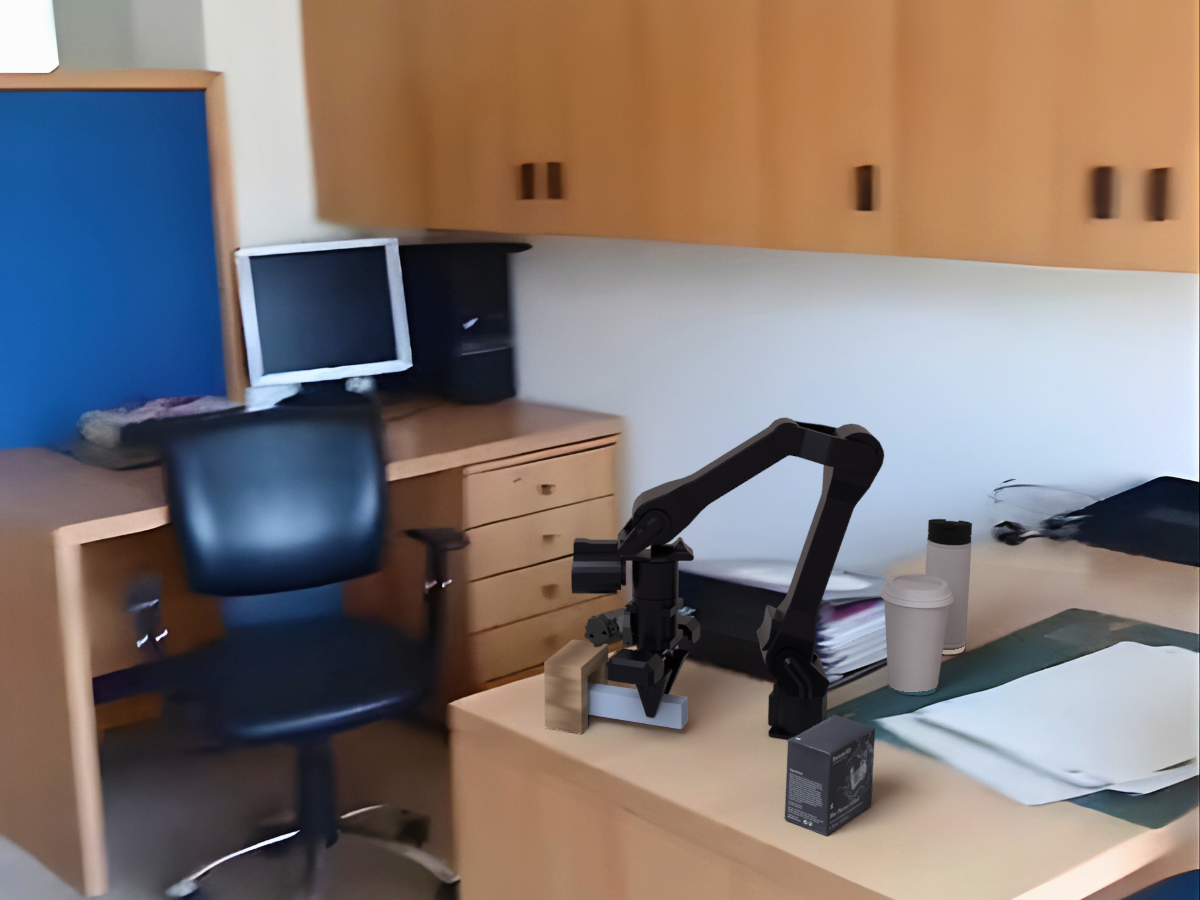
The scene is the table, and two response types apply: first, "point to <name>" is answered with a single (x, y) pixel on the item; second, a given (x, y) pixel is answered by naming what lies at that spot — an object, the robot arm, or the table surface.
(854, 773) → the box
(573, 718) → the wooden block
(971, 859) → the table surface
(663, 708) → the light blue rectangular bar
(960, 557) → the travel mug
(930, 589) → the coffee cup
